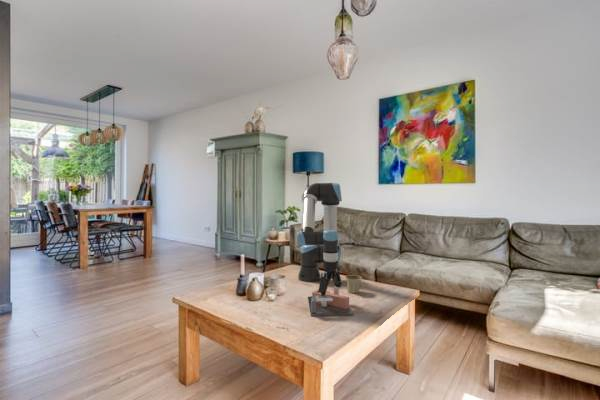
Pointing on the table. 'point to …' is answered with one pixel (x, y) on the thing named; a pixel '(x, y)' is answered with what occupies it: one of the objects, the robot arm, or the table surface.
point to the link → (334, 299)
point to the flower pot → (353, 283)
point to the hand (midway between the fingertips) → (330, 302)
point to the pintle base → (326, 307)
